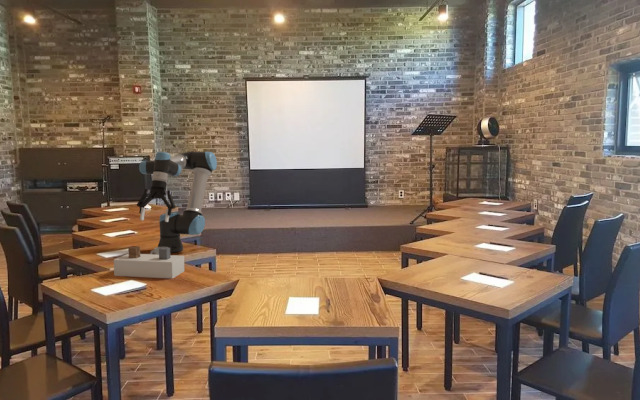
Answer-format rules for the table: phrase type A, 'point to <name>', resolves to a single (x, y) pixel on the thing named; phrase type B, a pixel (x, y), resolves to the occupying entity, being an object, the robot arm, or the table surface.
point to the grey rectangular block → (149, 266)
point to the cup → (156, 250)
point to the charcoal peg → (164, 253)
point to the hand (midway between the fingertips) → (154, 221)
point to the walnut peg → (134, 252)
